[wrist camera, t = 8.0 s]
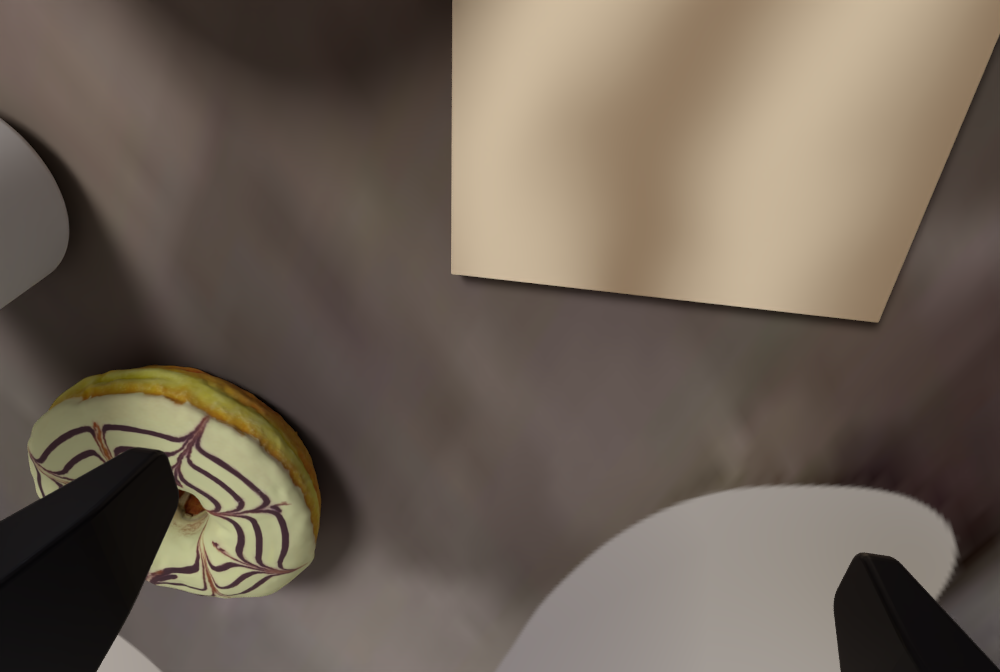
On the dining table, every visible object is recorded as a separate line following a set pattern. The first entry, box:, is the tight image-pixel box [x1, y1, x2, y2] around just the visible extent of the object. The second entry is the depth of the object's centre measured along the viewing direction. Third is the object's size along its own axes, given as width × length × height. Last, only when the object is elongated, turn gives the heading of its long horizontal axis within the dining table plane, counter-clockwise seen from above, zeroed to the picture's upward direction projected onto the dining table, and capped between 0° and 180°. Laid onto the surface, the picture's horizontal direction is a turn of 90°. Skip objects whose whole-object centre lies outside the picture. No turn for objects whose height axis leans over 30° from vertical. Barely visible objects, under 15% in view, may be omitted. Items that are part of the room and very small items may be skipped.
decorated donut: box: [28, 365, 321, 598], centre depth 26 cm, size 10×11×4 cm
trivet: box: [451, 0, 1000, 322], centre depth 17 cm, size 12×12×1 cm
